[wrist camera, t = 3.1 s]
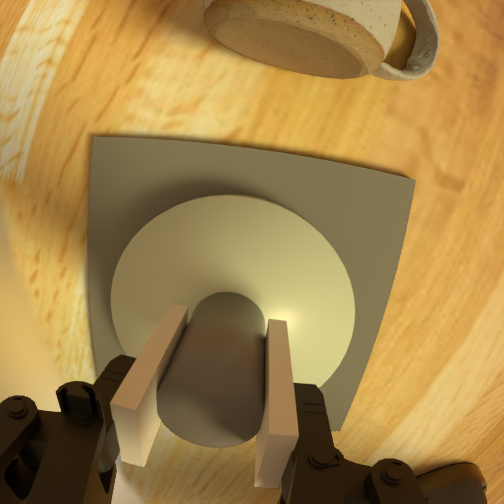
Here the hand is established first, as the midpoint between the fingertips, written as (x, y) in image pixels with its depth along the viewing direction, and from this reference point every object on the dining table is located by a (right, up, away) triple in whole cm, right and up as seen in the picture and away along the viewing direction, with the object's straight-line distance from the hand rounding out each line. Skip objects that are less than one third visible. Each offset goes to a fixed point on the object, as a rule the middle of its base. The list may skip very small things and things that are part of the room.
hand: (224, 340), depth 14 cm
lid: (0, +1, +2) cm, 2 cm away
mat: (0, +1, +3) cm, 3 cm away
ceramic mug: (+5, +16, -1) cm, 17 cm away
